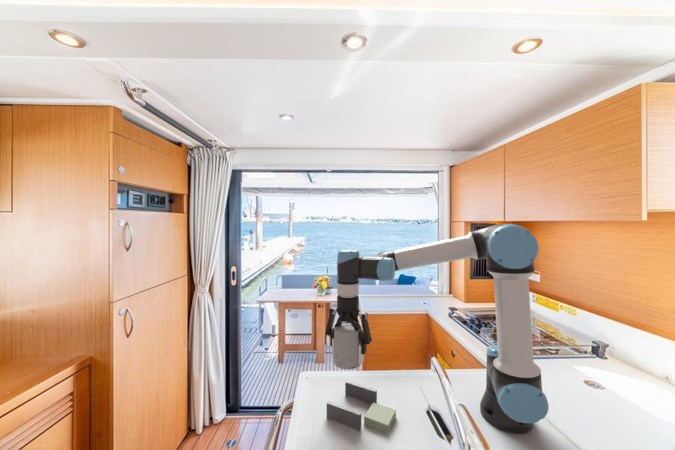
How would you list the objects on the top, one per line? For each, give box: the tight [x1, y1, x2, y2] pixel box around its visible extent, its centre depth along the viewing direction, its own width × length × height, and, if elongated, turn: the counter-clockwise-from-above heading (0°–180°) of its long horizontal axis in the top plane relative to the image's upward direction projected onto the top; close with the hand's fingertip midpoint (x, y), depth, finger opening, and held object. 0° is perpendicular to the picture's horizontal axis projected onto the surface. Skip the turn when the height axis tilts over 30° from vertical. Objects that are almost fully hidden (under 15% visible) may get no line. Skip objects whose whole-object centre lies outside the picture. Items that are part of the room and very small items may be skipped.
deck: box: [363, 402, 397, 434], centre depth 93 cm, size 8×8×2 cm
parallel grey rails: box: [326, 380, 378, 432], centre depth 98 cm, size 12×15×5 cm
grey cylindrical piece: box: [333, 322, 363, 370], centre depth 98 cm, size 10×10×12 cm
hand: (347, 358), depth 98 cm, fingers closed on grey cylindrical piece, 9 cm apart
